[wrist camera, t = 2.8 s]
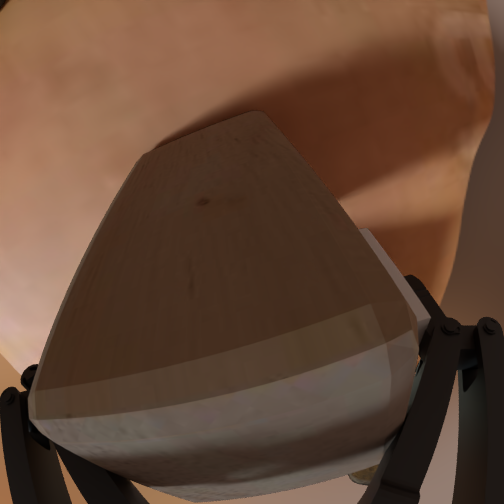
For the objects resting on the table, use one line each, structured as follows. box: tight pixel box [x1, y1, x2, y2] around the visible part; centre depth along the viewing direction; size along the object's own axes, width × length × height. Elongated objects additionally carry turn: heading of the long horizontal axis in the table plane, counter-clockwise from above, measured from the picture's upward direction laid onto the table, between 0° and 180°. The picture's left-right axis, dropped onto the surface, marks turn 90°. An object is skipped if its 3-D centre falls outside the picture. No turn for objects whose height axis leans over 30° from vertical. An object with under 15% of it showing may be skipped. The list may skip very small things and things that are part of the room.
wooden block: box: [28, 111, 419, 502], centre depth 16 cm, size 10×10×20 cm
